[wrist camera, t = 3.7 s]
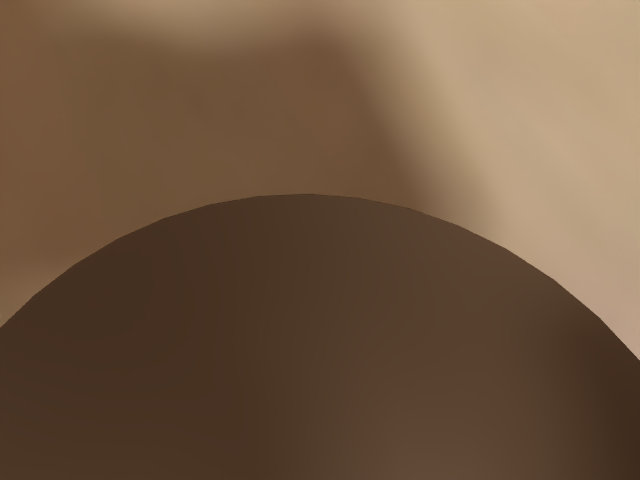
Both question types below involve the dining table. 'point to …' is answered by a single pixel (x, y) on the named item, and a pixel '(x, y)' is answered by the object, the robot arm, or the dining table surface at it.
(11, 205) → the dining table surface
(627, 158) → the dining table surface
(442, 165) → the dining table surface
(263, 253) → the post
